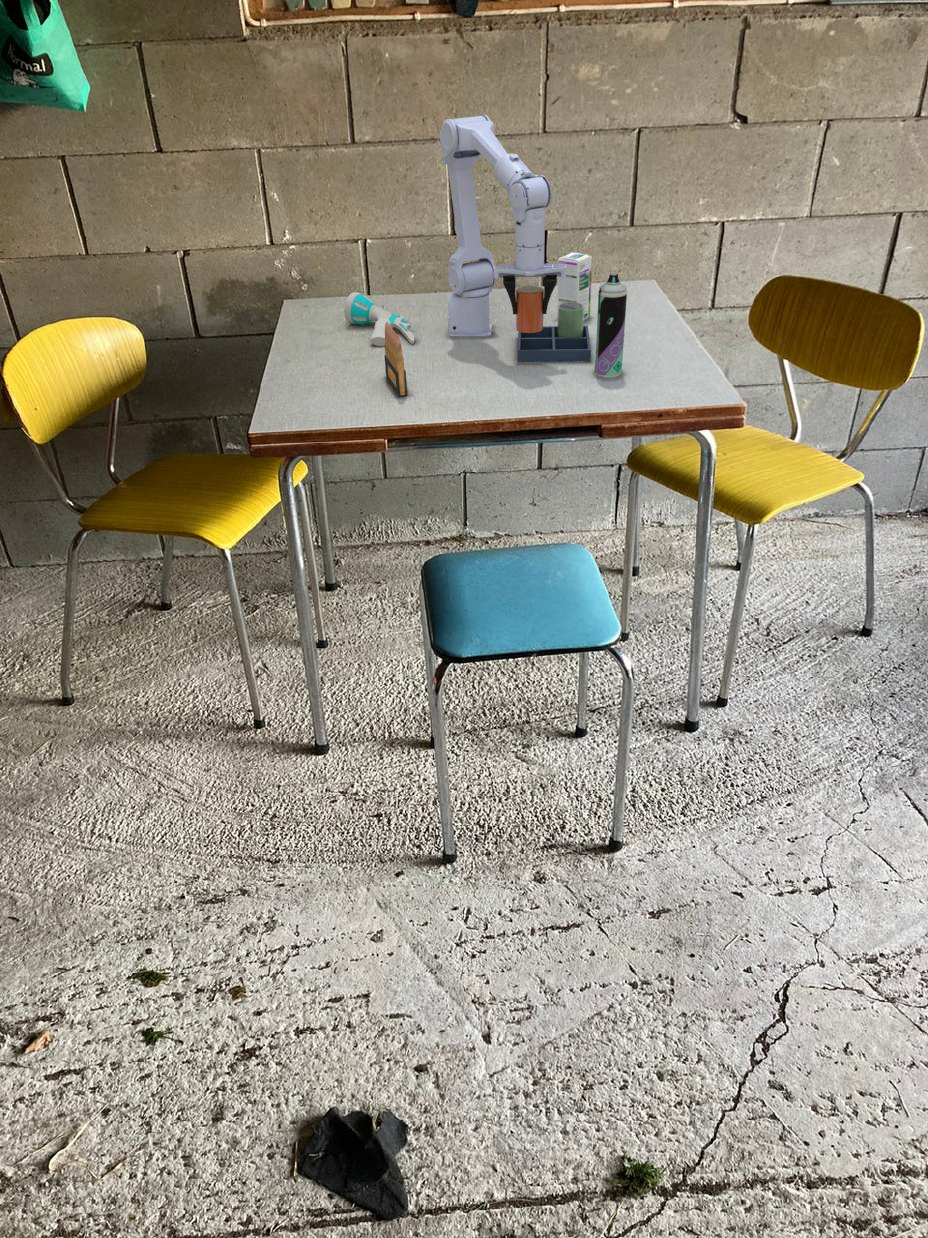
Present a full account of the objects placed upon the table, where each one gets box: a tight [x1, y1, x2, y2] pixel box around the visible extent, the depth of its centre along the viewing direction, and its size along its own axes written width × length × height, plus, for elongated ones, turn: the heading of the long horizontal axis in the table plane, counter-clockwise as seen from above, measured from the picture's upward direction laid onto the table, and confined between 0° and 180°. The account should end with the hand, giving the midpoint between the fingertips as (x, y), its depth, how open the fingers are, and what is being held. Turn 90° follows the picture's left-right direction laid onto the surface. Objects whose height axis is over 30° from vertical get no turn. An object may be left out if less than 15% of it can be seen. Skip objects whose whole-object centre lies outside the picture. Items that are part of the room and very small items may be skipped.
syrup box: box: [556, 251, 593, 320], centre depth 217 cm, size 6×6×14 cm
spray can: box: [594, 273, 628, 378], centre depth 187 cm, size 6×6×20 cm
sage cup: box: [557, 302, 585, 338], centre depth 205 cm, size 6×6×8 cm
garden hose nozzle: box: [343, 291, 416, 347], centre depth 218 cm, size 7×18×20 cm
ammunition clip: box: [384, 322, 408, 398], centre depth 188 cm, size 11×2×12 cm, turn 18°
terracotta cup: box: [515, 285, 544, 333], centre depth 194 cm, size 6×6×8 cm
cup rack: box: [516, 325, 592, 363], centre depth 204 cm, size 15×15×3 cm
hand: (529, 312), depth 194 cm, fingers closed on terracotta cup, 5 cm apart
